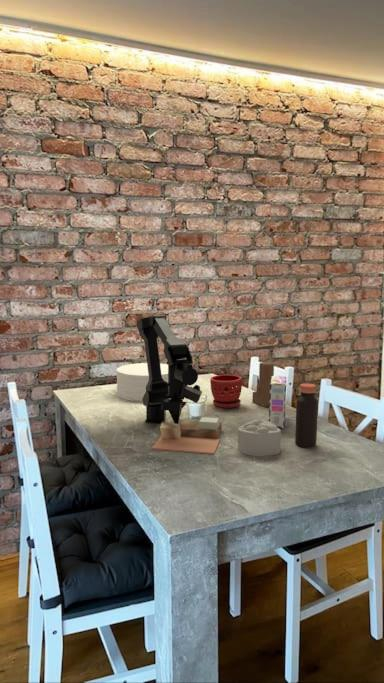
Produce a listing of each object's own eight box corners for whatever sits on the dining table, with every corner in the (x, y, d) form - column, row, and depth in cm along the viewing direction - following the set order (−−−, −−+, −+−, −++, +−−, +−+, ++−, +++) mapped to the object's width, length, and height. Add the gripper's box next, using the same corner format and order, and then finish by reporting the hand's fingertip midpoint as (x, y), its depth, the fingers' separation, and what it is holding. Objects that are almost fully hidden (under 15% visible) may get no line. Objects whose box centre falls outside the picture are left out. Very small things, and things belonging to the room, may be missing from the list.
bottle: (290, 442, 166) (293, 383, 163) (307, 439, 169) (310, 381, 166) (303, 449, 160) (305, 388, 157) (320, 446, 163) (323, 386, 160)
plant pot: (233, 399, 219) (234, 373, 217) (246, 408, 207) (247, 379, 205) (205, 402, 215) (206, 374, 213) (216, 410, 202) (217, 381, 201)
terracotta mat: (152, 449, 160) (152, 447, 160) (162, 436, 172) (162, 434, 172) (214, 454, 156) (214, 452, 156) (219, 440, 168) (220, 439, 168)
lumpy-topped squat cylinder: (283, 454, 156) (284, 427, 155) (242, 457, 154) (243, 429, 152) (271, 442, 166) (272, 417, 165) (233, 445, 164) (234, 419, 162)
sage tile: (199, 428, 171) (199, 421, 170) (201, 424, 176) (201, 417, 175) (216, 429, 170) (216, 422, 169) (218, 425, 174) (218, 418, 174)
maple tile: (163, 432, 170) (162, 438, 168) (161, 422, 167) (159, 428, 165) (181, 434, 169) (179, 439, 167) (179, 423, 166) (177, 429, 164)
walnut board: (165, 436, 172) (165, 427, 172) (172, 426, 182) (172, 418, 181) (217, 439, 168) (217, 431, 168) (221, 430, 178) (221, 422, 178)
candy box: (284, 428, 181) (286, 384, 178) (268, 427, 182) (269, 383, 179) (285, 417, 194) (286, 375, 192) (270, 416, 195) (271, 375, 193)
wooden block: (252, 402, 216) (253, 360, 213) (260, 400, 218) (261, 360, 215) (264, 407, 208) (265, 364, 205) (273, 406, 210) (274, 363, 207)
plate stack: (144, 383, 249) (144, 360, 248) (190, 391, 233) (190, 367, 231) (104, 394, 227) (103, 370, 225) (151, 405, 211) (151, 378, 209)
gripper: (194, 386, 159) (194, 434, 162) (204, 374, 177) (204, 417, 180) (160, 385, 161) (161, 431, 164) (174, 373, 179) (174, 415, 182)
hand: (176, 423), depth 172 cm, fingers closed
